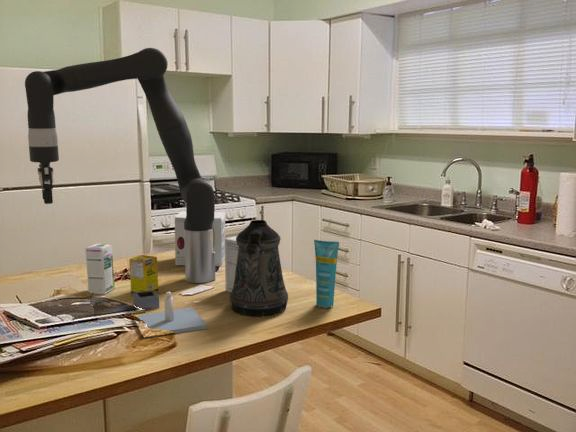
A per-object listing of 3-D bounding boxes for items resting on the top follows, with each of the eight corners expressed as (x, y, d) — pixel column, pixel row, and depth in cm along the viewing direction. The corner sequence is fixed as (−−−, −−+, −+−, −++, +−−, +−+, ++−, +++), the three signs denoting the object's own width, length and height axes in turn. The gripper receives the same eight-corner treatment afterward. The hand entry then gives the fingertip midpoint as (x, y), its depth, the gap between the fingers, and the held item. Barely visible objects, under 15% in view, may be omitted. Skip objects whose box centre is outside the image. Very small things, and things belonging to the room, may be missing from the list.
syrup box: (105, 294, 164) (102, 248, 161) (87, 293, 165) (84, 246, 162) (115, 289, 169) (112, 243, 167) (97, 287, 170) (95, 242, 168)
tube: (310, 306, 155) (311, 241, 152) (314, 301, 160) (316, 237, 156) (336, 309, 153) (337, 243, 149) (339, 304, 157) (341, 239, 154)
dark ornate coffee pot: (276, 295, 165) (277, 214, 160) (300, 317, 147) (301, 226, 142) (223, 301, 159) (222, 217, 155) (241, 324, 141) (240, 230, 137)
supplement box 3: (267, 290, 169) (267, 238, 166) (245, 297, 163) (245, 242, 160) (246, 284, 176) (246, 233, 173) (224, 290, 169) (223, 237, 166)
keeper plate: (192, 310, 151) (191, 281, 149) (207, 328, 138) (206, 296, 137) (133, 319, 144) (132, 288, 143) (143, 338, 132) (141, 305, 130)
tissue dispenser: (154, 301, 158) (154, 289, 158) (159, 308, 153) (159, 296, 152) (133, 304, 156) (132, 292, 155) (136, 311, 150) (136, 299, 150)
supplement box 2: (174, 266, 196) (173, 217, 193) (181, 257, 209) (180, 210, 206) (222, 266, 196) (221, 217, 193) (226, 257, 209) (225, 211, 206)
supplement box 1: (158, 290, 168) (157, 256, 166) (146, 296, 163) (144, 261, 161) (143, 288, 171) (142, 254, 169) (130, 293, 165) (128, 258, 163)
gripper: (59, 145, 148) (63, 204, 151) (56, 143, 161) (60, 197, 164) (29, 146, 145) (34, 206, 148) (28, 143, 158) (32, 199, 160)
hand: (47, 201), depth 156 cm, fingers open, 8 cm apart
